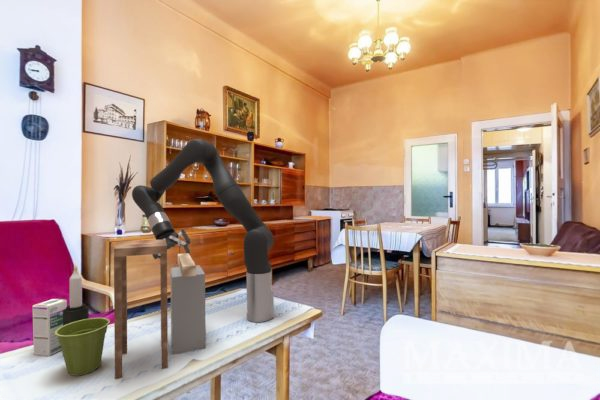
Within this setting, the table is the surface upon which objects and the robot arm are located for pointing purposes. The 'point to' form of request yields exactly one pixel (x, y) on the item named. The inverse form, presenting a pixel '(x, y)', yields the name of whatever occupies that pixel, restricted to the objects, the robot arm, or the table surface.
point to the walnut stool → (121, 295)
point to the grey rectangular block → (187, 311)
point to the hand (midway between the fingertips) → (177, 259)
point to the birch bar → (186, 265)
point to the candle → (75, 301)
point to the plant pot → (82, 344)
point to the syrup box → (47, 326)
